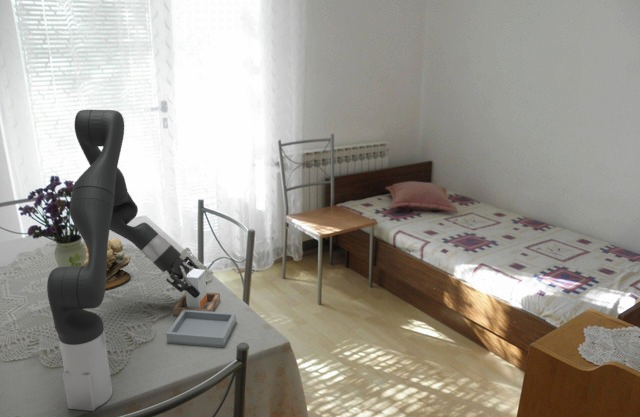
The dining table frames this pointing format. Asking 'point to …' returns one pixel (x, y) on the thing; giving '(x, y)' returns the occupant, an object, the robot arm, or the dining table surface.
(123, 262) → the beige lumpy sculpture
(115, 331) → the dining table surface
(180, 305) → the socket block
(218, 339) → the tray
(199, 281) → the skincare box
